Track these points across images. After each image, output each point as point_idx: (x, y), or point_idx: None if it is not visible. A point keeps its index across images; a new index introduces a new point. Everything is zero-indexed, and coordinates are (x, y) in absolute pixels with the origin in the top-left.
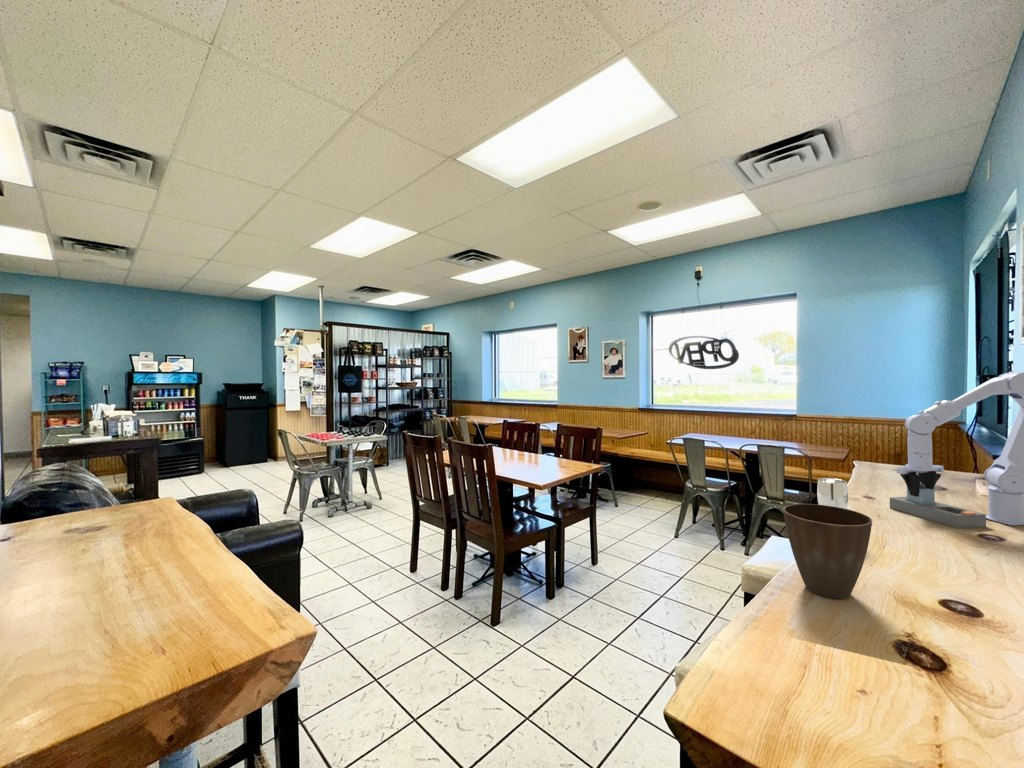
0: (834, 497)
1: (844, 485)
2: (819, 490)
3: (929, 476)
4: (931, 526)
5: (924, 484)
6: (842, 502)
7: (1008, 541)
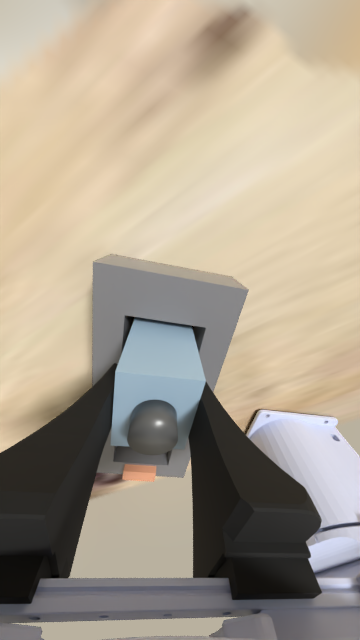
0: None
1: None
2: None
3: (203, 535)
4: (51, 415)
5: (171, 447)
6: None
7: (113, 487)
